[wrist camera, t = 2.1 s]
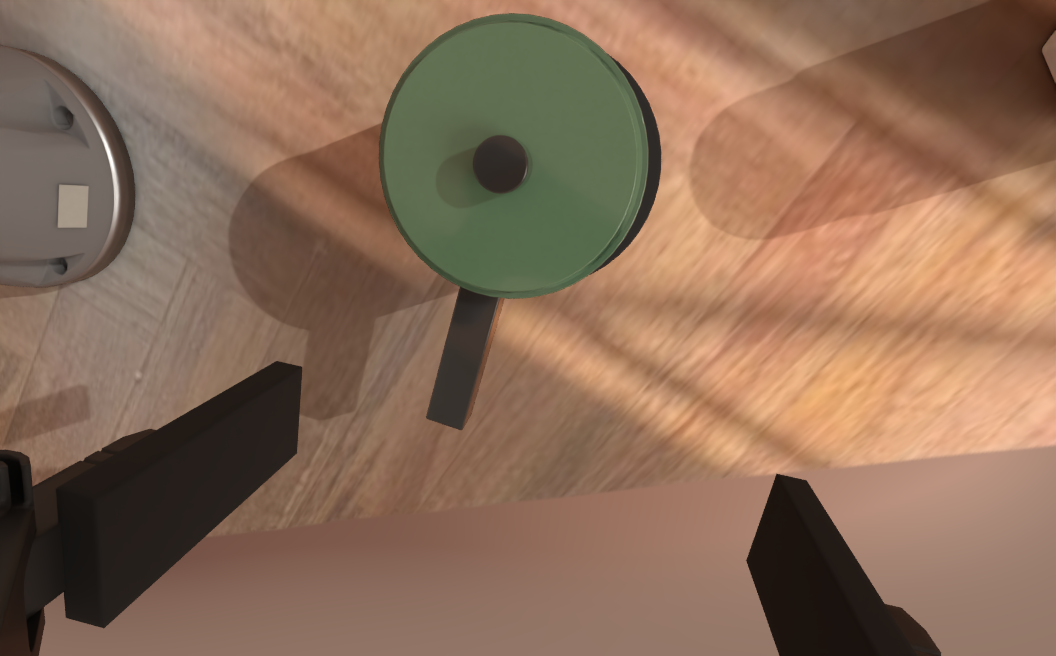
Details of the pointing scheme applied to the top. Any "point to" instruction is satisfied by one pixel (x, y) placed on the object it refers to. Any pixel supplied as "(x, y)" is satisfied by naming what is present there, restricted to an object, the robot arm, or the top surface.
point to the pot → (509, 174)
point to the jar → (1051, 54)
